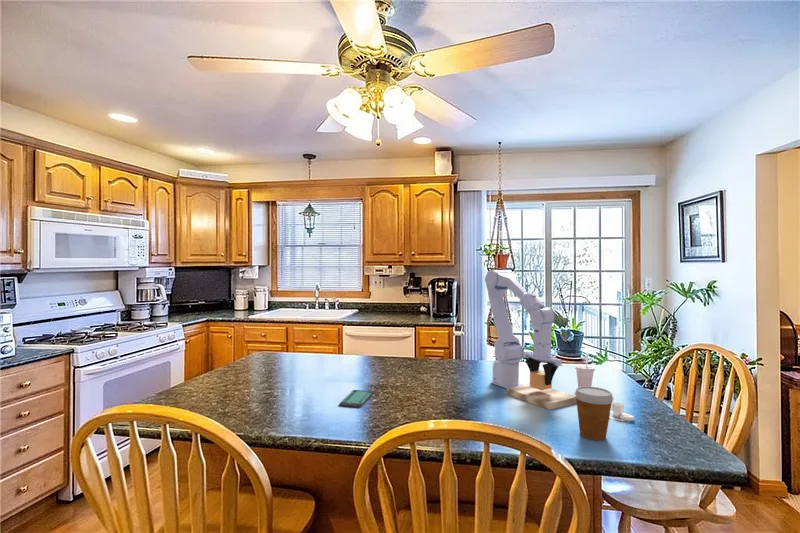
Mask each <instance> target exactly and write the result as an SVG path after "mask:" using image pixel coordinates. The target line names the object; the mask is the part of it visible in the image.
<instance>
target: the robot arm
mask: <svg viewBox="0 0 800 533" xmlns="http://www.w3.org/2000/svg"><path fill="white" fill-rule="evenodd" d="M484 283H485V286H486V290H487V296H488V300H489V304H490V308H491V312H492V317H493V321H494V323H495V328H496V329H495V330H496V331H497V332H496V333H497V336H498V338H497V339H496V341H494V343H493V345H494V356H495V359H496V360H495V361H494V362H493V365H492V380H491V381H490V383H491V384H493V385H496V386H499V387H501V388H504V389H507V388H510V387H516V386H521V385H523V384H521V383H519V382H520V381H519V376H520V370H519V369H520V363H521V360H522V359H526V360H525V364H526V365H527V367H528V369H529V373H530V372H533V371H538V370H540V366H541V365H540V364H541V363H542V362H543V364H542V368H543V371H544V373H545V385H551V382H552V383H553V379H554V376H555V373H556V371H557V369H559V367H561V366H562V365H563V359H560V358H557V357H554V356H552V324H554V323H555V320H556V312H555V310H553V308H552V307H550V306H546V305H545V304H544V303H543V302H541V301H540V300H539V299H538V297H537V295H536V294H535V293H532V292H527V290H525V288H524V287H523V285H522V284H521V283H520V282H519V281H518V280H517V276H516V274H515V273H514V272H513V271H512V270H510V269H506V270H504V269H501V270H500V269H499V270H497V269H490V270H488V271H487V273H486V275H485V277H484ZM507 291H511V292H512V293H513V294H514V295H515V296H516V297H517V298H518V299H519V305H520V306H521V307H522V308H523V309H524V310H525V311H526V312H527V313H528V314H529V318H530V322H531V323H532V329H533V342H532V343H533V344H532V345H533V347H532V349H533V351H532V352H531V351H525V350H524V348H523V346H522V344H521V343H520V339H519V338H518V337H516V335H514V334H513V330H512V327H511V323H510V318H509V315H508V309H507V306H506V304H505V300H504V294H505V293H506V292H507Z"/></svg>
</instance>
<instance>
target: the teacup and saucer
mask: <svg viewBox="0 0 800 533" xmlns="http://www.w3.org/2000/svg"><path fill="white" fill-rule="evenodd" d="M624 408H625V406H624V404H623V403H622V402H615V401H613V402H612V404H611V410H610V414H613V417H611V415H610V416H609V419H611V420H614V421H621V422H630V421H631V422H632V421H634V420H635V416H634V415H631V414H628V413H625V412H624ZM615 417H616V418H615ZM619 418H620V419H619Z"/></svg>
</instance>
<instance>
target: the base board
mask: <svg viewBox="0 0 800 533" xmlns="http://www.w3.org/2000/svg"><path fill="white" fill-rule="evenodd" d="M506 394H507V395H508V396H510V397H511V396H512V397H514V398H517V399H519V400H522V401H525V402H527V403H530V404H533V405H536V406H538V407H541V408H543V409H546V410H554V409H558V408H561V407H562V408H563V407H566V406H569V405H574V403H575V404H577V401H576V397H575V395H574V394H570V393H567V392H563V391H560V390H558V389H554V388H551V389H546V390H539V389H536V388H533V387H530V383H528V384H527V383H525V384H522V385H521V386H516V387H510V388H506Z"/></svg>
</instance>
